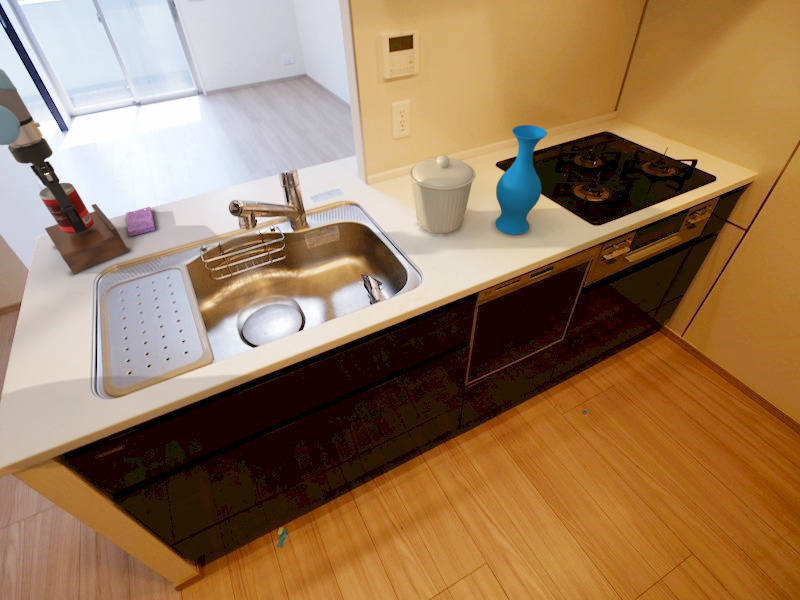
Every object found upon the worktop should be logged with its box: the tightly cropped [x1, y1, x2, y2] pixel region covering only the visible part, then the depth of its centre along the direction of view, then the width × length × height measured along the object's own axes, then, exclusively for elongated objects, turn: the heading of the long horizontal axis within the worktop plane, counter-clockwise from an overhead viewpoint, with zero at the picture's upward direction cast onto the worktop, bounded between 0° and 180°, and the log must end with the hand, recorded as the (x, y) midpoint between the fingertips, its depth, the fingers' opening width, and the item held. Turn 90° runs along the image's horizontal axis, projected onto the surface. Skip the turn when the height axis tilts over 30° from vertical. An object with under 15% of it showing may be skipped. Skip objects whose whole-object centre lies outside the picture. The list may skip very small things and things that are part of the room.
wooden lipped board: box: [44, 203, 130, 275], centre depth 118 cm, size 14×18×8 cm
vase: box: [494, 124, 548, 236], centre depth 116 cm, size 12×13×28 cm
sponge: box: [125, 206, 156, 237], centre depth 129 cm, size 7×13×2 cm, turn 28°
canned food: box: [38, 182, 93, 234], centre depth 112 cm, size 8×8×11 cm
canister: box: [408, 154, 477, 235], centre depth 120 cm, size 18×18×21 cm
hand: (77, 224), depth 115 cm, fingers closed on canned food, 8 cm apart
